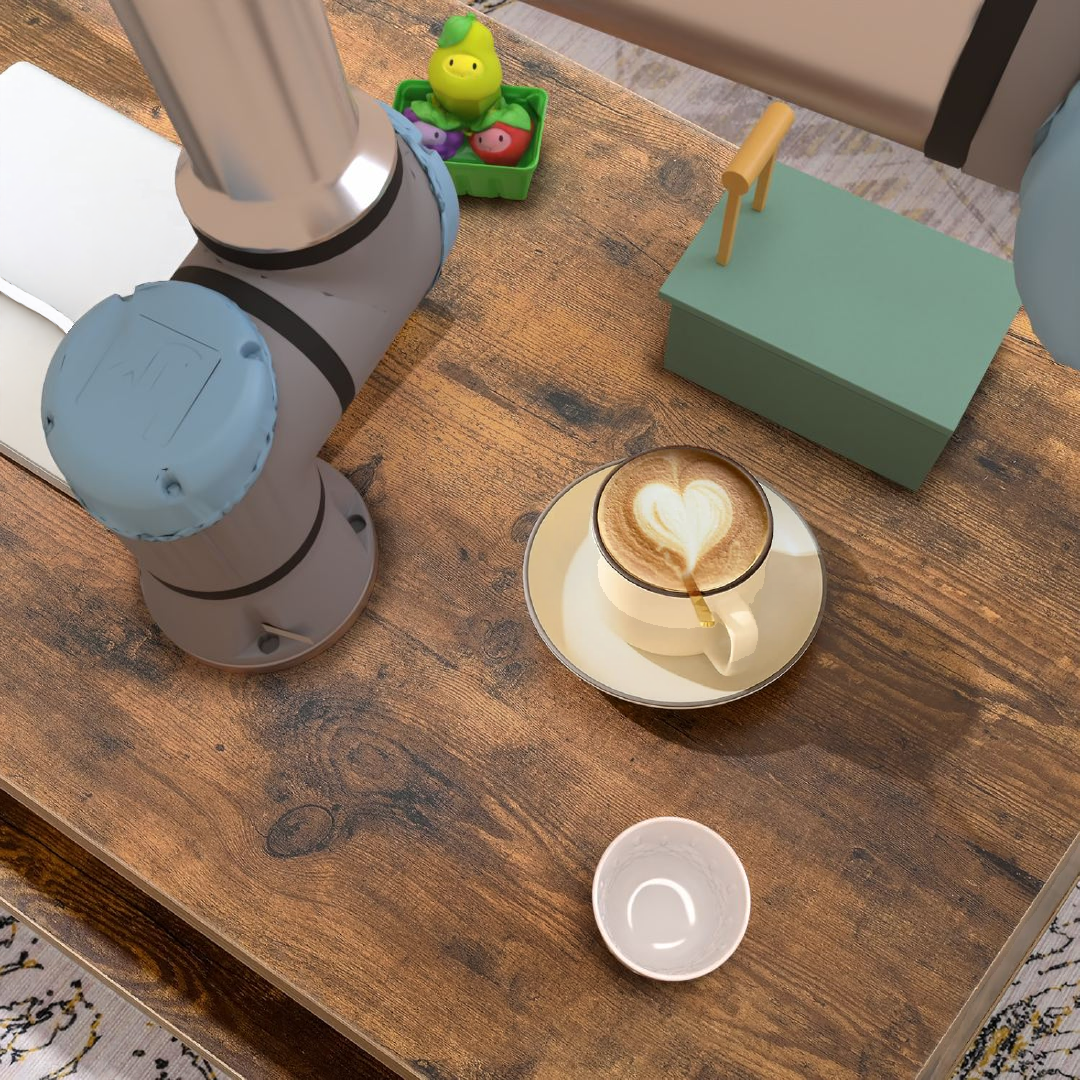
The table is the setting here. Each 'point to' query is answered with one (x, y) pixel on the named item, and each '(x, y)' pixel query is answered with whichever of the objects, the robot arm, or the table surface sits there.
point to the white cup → (671, 899)
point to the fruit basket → (475, 114)
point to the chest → (801, 400)
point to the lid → (845, 285)
